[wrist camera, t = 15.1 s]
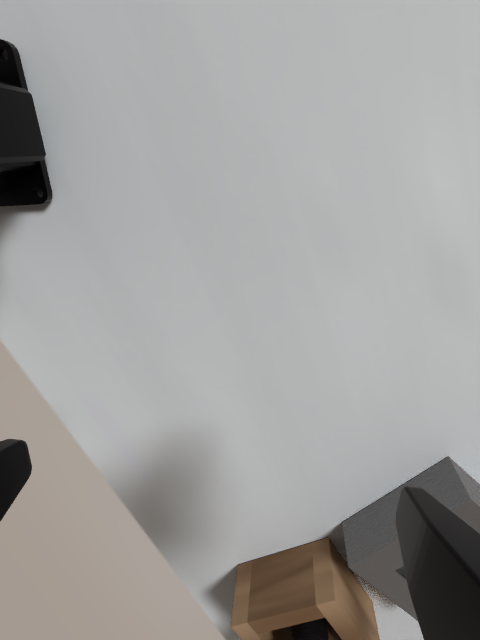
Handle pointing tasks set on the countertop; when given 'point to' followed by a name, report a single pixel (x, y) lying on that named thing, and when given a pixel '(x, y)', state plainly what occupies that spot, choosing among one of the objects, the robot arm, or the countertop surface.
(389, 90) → the countertop surface
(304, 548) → the wooden square frame
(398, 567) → the block
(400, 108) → the countertop surface
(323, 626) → the chuck key
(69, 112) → the countertop surface
